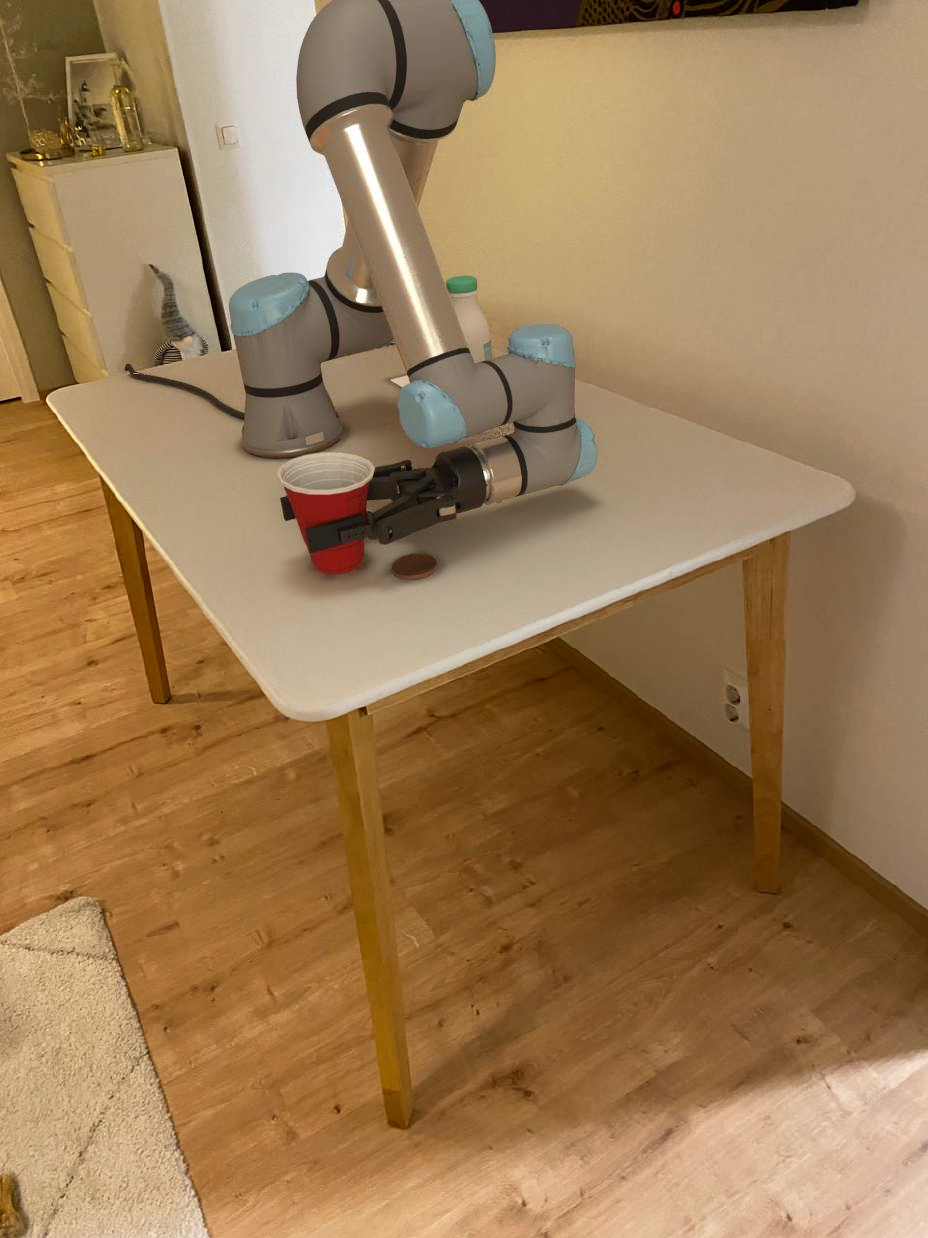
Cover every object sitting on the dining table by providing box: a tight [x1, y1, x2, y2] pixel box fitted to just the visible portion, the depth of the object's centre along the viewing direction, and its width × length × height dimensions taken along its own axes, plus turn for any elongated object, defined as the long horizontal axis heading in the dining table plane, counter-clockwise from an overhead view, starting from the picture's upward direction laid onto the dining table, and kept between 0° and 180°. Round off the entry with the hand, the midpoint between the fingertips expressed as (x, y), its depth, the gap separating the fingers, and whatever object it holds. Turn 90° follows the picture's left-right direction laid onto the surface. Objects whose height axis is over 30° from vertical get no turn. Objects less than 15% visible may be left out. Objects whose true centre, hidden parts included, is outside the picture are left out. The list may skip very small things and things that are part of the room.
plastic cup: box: [276, 451, 376, 575], centre depth 111 cm, size 11×11×12 cm
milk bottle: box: [445, 275, 493, 363], centre depth 150 cm, size 8×8×20 cm
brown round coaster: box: [391, 553, 438, 580], centre depth 112 cm, size 5×5×1 cm
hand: (295, 524), depth 110 cm, fingers closed on plastic cup, 9 cm apart
